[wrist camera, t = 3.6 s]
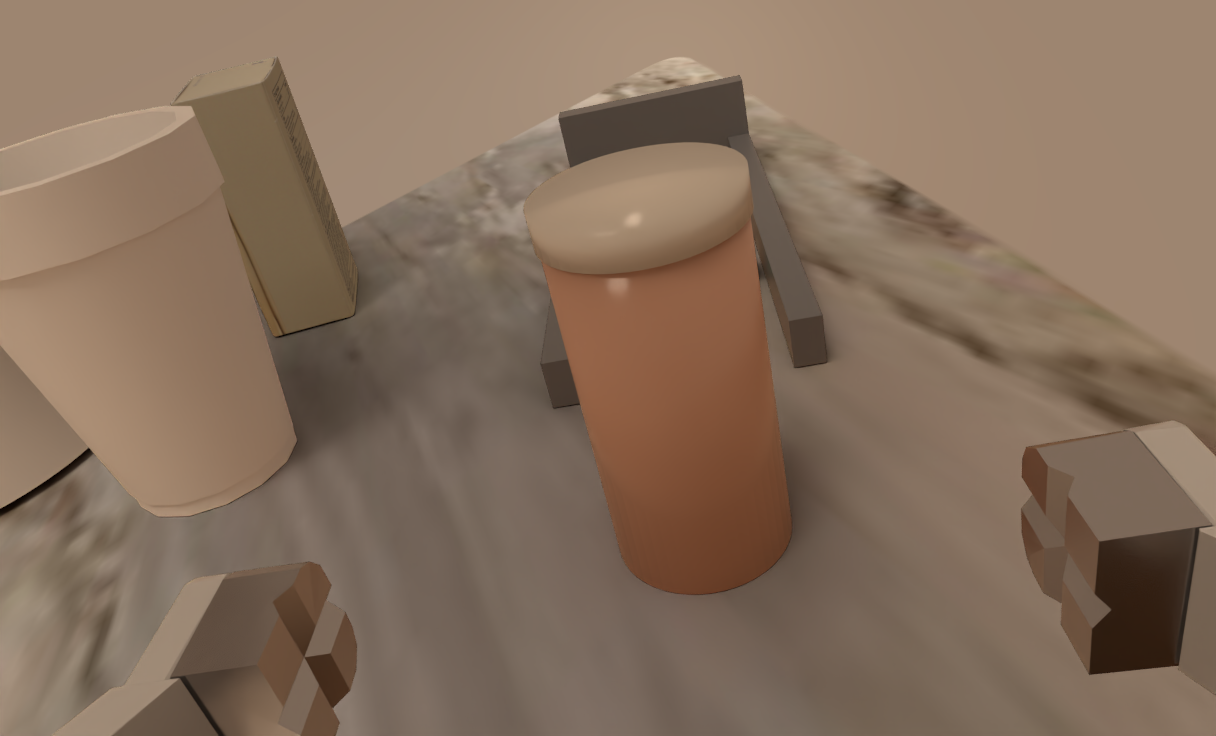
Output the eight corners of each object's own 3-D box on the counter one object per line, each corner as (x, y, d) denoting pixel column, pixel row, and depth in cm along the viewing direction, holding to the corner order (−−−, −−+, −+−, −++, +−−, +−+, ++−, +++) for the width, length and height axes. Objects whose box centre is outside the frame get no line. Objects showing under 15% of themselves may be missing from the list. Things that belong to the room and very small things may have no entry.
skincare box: (285, 292, 50) (190, 75, 44) (362, 270, 51) (278, 53, 45) (273, 341, 45) (162, 103, 39) (359, 317, 45) (263, 77, 39)
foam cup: (225, 389, 41) (84, 115, 35) (379, 405, 37) (251, 96, 31) (47, 527, 34) (-171, 217, 28) (211, 566, 30) (-1, 211, 24)
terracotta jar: (615, 609, 25) (511, 251, 19) (616, 486, 29) (533, 168, 24) (810, 582, 24) (762, 203, 19) (780, 460, 29) (735, 127, 23)
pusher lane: (826, 362, 33) (814, 238, 30) (553, 407, 34) (519, 292, 32) (750, 160, 53) (739, 75, 50) (579, 193, 54) (559, 112, 51)
